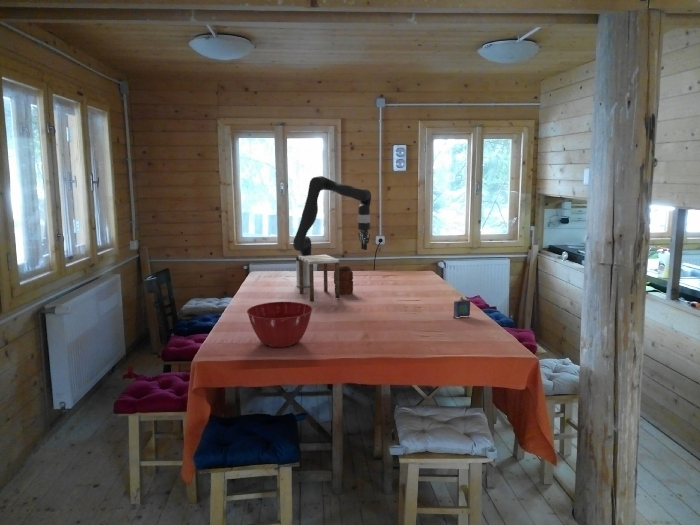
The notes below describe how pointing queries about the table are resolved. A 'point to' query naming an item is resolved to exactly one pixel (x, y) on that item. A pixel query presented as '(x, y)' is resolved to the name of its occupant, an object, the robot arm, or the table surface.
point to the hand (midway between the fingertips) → (364, 249)
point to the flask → (462, 307)
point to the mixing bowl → (280, 322)
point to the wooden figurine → (345, 280)
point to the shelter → (324, 259)
